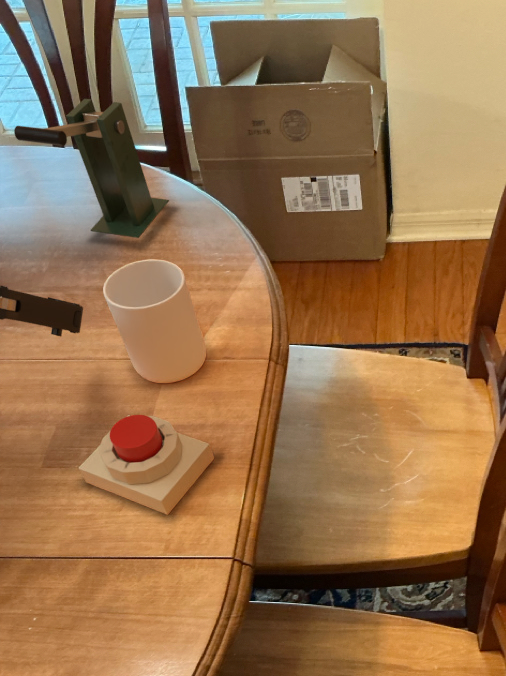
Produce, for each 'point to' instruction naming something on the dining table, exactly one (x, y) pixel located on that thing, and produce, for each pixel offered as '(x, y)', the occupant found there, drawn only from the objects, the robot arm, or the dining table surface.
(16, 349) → the dining table surface
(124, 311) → the cup
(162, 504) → the confirm box
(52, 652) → the dining table surface
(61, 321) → the robot arm
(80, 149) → the lock bracket
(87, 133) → the bolt lever
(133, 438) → the button
